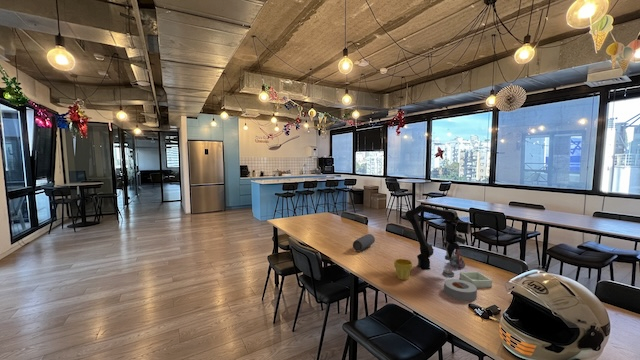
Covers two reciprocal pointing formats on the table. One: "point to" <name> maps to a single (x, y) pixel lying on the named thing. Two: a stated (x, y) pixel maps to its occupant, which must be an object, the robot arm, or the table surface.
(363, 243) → the bluetooth speaker
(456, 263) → the carburetor
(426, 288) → the table surface
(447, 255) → the brass cabinet knob
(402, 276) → the plant pot
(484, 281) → the bin
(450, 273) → the disc with square block
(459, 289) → the tape roll
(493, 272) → the table surface
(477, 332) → the table surface
